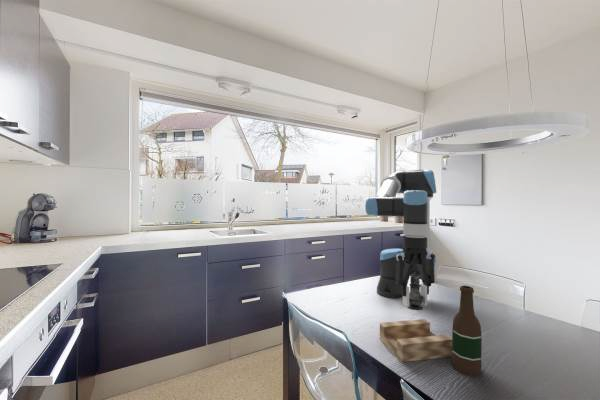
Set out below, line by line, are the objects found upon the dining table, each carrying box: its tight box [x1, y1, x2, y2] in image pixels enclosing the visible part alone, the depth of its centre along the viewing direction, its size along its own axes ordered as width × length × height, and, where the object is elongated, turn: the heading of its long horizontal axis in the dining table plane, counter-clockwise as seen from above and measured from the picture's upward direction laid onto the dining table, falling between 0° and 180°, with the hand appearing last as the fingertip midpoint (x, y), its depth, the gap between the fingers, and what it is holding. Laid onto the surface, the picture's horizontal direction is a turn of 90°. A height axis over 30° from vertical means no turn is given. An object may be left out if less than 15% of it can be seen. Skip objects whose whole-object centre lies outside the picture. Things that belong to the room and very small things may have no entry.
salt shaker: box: [406, 272, 424, 311], centre depth 89 cm, size 6×6×12 cm
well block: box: [379, 318, 452, 363], centre depth 90 cm, size 18×14×6 cm
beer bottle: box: [451, 285, 483, 377], centre depth 78 cm, size 8×8×24 cm
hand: (414, 304), depth 90 cm, fingers closed on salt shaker, 6 cm apart
